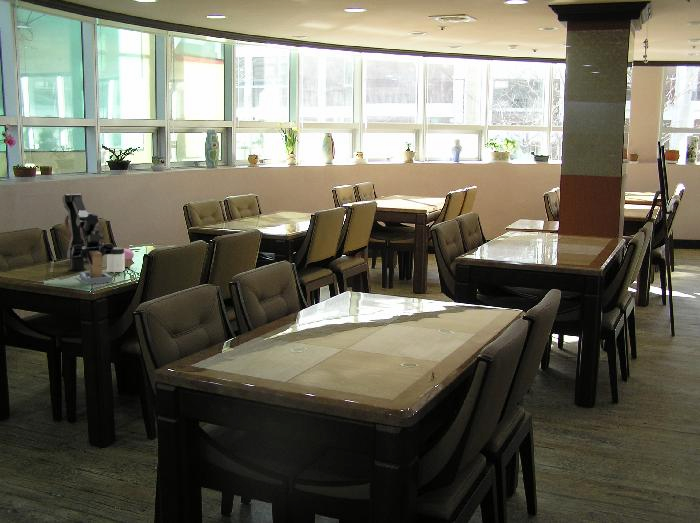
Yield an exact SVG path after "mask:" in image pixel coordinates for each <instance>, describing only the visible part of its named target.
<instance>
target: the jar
mask: <svg viewBox="0 0 700 523" xmlns="http://www.w3.org/2000/svg"><path fill="white" fill-rule="evenodd" d="M124 249H125V248H124V247H121V246H114V248H113V251H112V254H106V270H107V272H106V273H110V272H114V273H113V274H116V273H115V272H122V273H124V272H125V271H126V268H125V253H124ZM124 270H125V271H124ZM123 271H124V272H123Z"/></svg>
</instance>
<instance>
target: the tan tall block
mask: <svg viewBox="0 0 700 523" xmlns="http://www.w3.org/2000/svg"><path fill="white" fill-rule="evenodd" d="M89 254H90V257H91V260H92V265H91V264H90V263H89V272H90V278H97V277H102V273H103V257H102V253H100V252H98V251H96V252H89Z"/></svg>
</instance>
